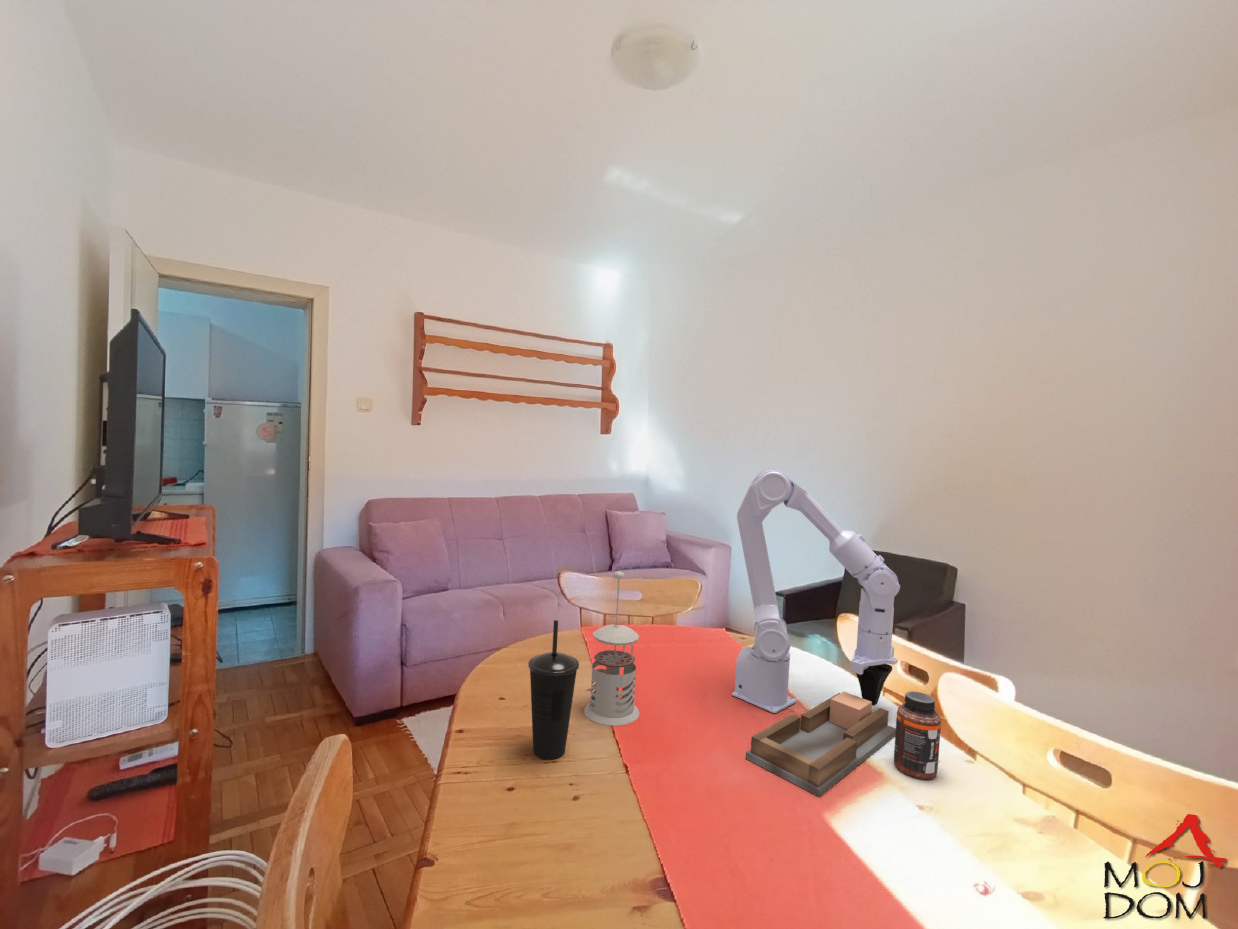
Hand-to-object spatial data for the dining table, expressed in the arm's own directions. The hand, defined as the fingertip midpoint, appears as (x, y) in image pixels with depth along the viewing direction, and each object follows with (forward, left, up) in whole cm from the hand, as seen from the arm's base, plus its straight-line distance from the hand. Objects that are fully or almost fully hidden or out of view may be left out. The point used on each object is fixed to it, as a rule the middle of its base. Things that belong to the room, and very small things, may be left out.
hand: (869, 703), depth 102 cm
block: (0, -8, -1) cm, 8 cm away
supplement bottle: (+12, -12, -3) cm, 17 cm away
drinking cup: (-26, -53, -3) cm, 59 cm away
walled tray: (0, -17, -2) cm, 17 cm away
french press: (-30, -36, -3) cm, 47 cm away
